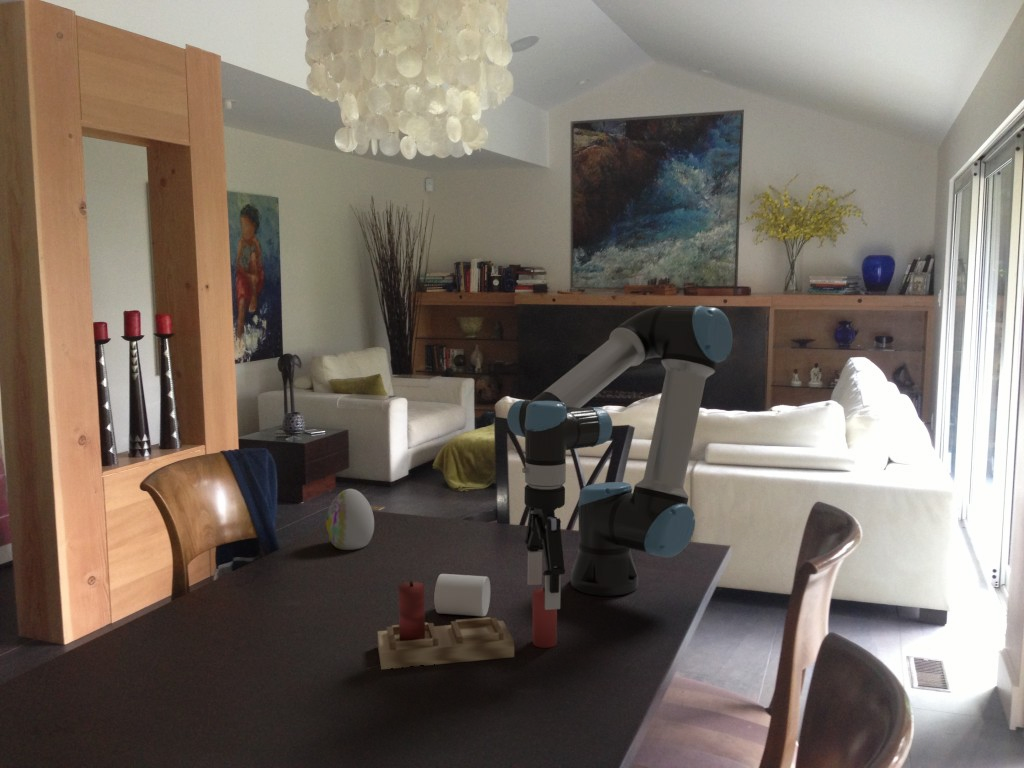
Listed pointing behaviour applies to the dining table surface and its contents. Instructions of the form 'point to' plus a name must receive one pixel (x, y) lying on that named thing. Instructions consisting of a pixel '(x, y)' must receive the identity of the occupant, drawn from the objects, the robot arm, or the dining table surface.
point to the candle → (543, 621)
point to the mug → (462, 595)
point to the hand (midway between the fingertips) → (543, 596)
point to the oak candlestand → (439, 636)
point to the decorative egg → (350, 521)
